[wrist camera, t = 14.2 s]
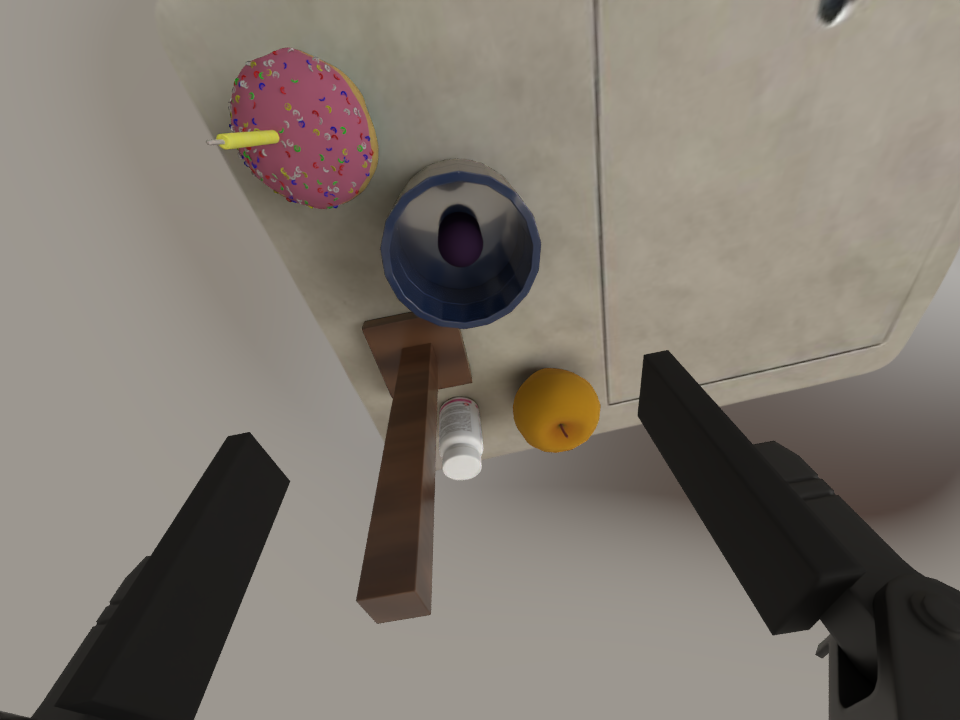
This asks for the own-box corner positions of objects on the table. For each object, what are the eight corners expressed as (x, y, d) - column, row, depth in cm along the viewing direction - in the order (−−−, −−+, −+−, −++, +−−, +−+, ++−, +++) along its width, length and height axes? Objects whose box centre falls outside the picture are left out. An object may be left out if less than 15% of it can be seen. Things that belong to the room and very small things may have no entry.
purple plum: (431, 222, 30) (428, 238, 26) (470, 204, 30) (474, 218, 26) (449, 260, 32) (449, 281, 28) (486, 244, 32) (492, 263, 28)
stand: (364, 321, 36) (263, 584, 16) (453, 303, 35) (462, 550, 16) (393, 389, 41) (344, 651, 21) (471, 374, 40) (495, 627, 21)
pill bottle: (431, 413, 43) (428, 471, 36) (457, 389, 41) (459, 445, 35) (461, 430, 45) (464, 488, 38) (487, 408, 43) (495, 465, 37)
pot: (373, 175, 28) (355, 193, 23) (515, 144, 28) (533, 154, 22) (414, 302, 35) (408, 340, 29) (530, 278, 34) (547, 313, 29)
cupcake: (278, 190, 28) (190, 235, 19) (247, 49, 24) (107, 10, 14) (389, 198, 29) (361, 244, 20) (381, 63, 25) (339, 36, 15)
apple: (564, 415, 45) (587, 475, 38) (496, 404, 43) (506, 464, 36) (596, 357, 40) (629, 413, 33) (521, 341, 38) (539, 397, 31)
